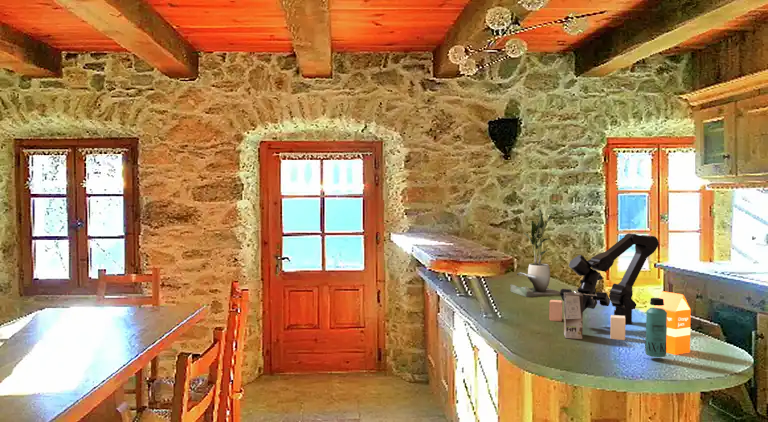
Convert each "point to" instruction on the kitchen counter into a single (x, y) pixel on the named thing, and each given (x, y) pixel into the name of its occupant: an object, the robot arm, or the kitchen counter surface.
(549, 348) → the kitchen counter surface
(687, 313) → the orange juice
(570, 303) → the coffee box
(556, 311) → the terracotta block
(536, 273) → the potted plant
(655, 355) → the beverage bottle
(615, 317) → the cream block
